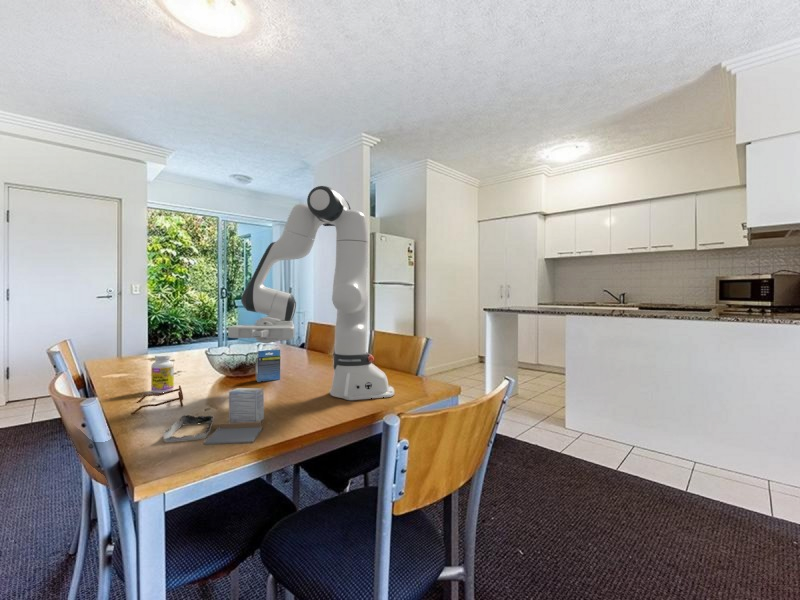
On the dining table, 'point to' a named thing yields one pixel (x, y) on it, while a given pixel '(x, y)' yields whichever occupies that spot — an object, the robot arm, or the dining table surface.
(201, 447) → the dining table surface
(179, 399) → the glasses
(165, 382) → the supplement bottle
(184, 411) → the dining table surface
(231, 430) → the tip mat
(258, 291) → the robot arm
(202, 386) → the dining table surface
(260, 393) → the medicine box
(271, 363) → the label tape box
